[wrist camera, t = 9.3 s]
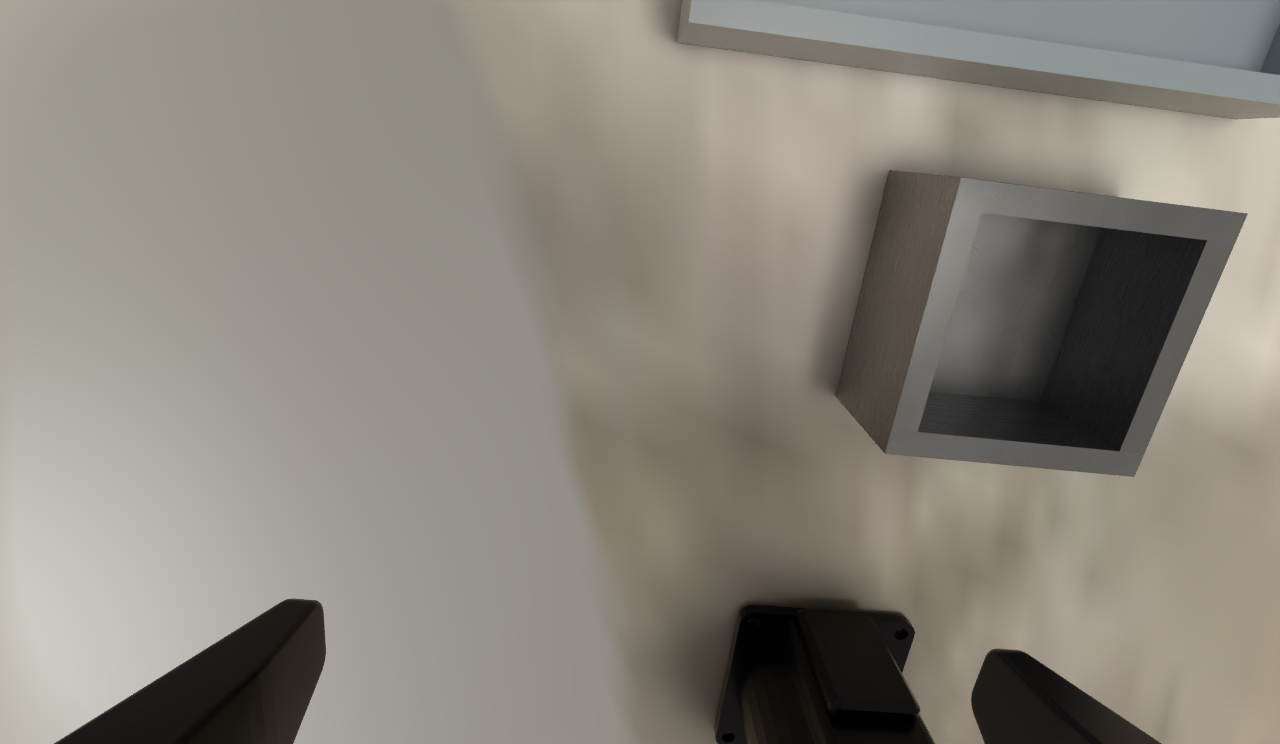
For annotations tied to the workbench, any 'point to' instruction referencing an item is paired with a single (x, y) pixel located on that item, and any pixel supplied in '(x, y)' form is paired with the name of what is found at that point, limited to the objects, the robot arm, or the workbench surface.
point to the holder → (1027, 321)
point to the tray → (1027, 45)
